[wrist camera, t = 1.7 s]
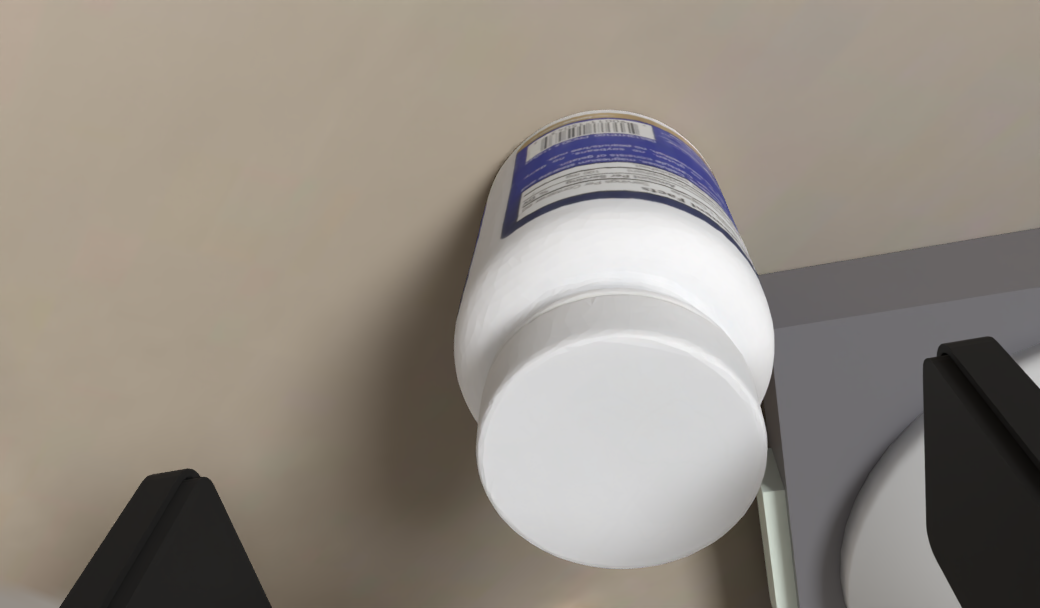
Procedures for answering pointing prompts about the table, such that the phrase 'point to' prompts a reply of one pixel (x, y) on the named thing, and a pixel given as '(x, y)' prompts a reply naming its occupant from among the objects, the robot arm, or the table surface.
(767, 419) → the scale
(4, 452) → the table surface
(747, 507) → the pill bottle
